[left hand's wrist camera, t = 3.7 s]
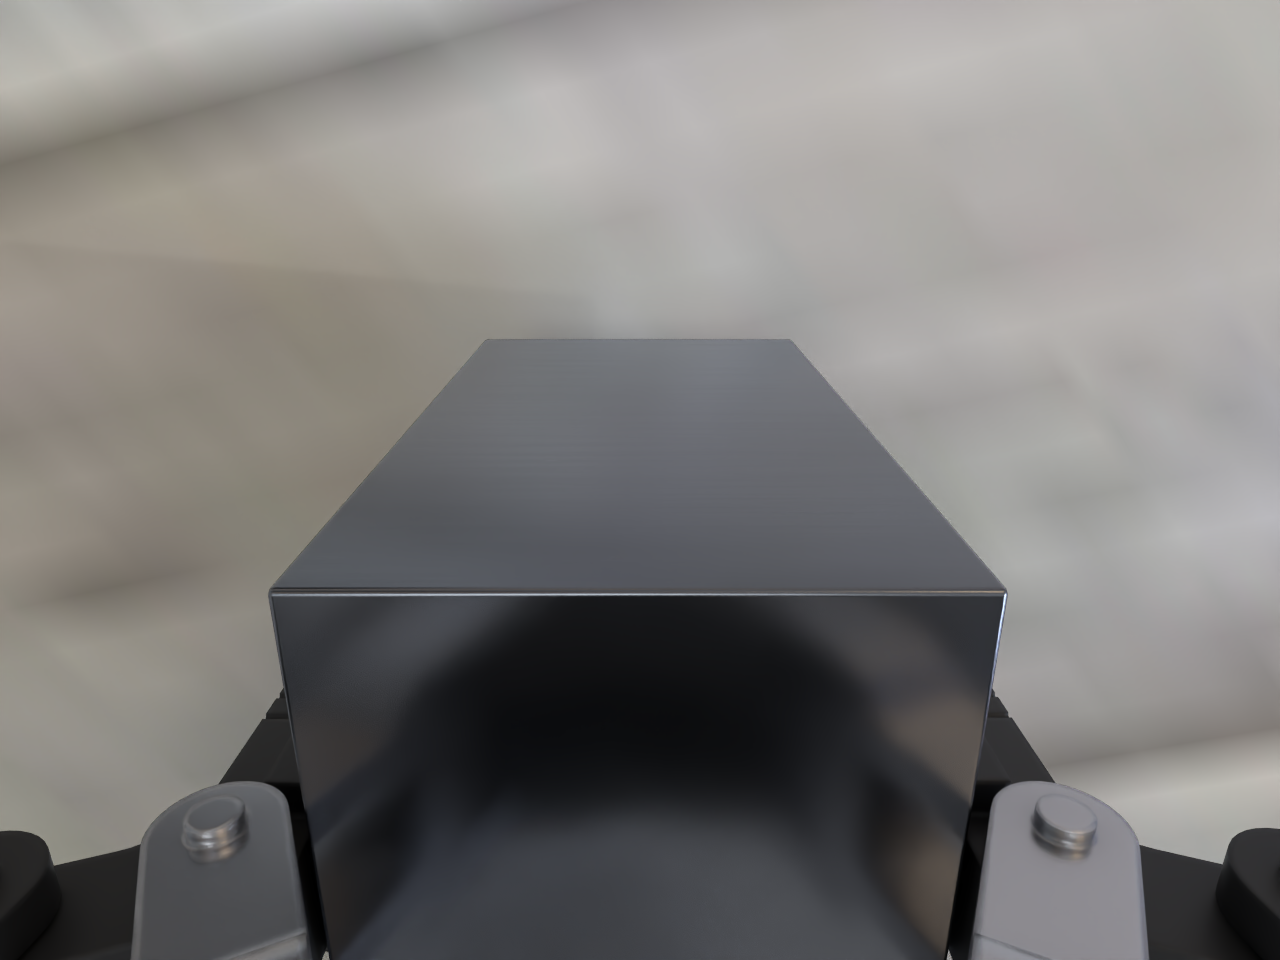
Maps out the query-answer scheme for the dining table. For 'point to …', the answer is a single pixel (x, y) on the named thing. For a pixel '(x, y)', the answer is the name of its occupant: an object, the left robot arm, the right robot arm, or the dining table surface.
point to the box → (638, 670)
